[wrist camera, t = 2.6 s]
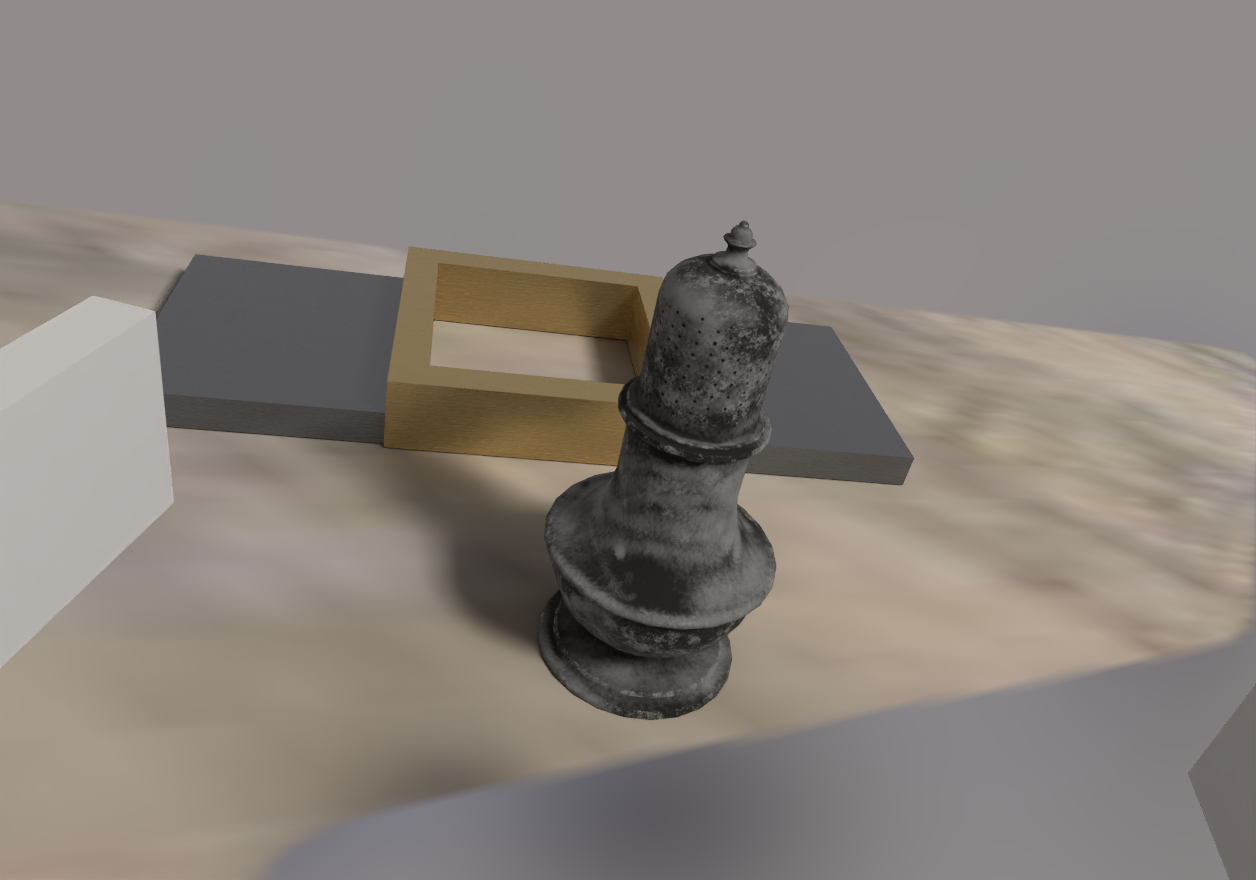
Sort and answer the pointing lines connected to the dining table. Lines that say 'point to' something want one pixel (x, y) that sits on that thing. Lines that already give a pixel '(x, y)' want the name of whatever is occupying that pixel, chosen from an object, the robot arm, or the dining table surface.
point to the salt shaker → (672, 502)
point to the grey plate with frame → (472, 399)
